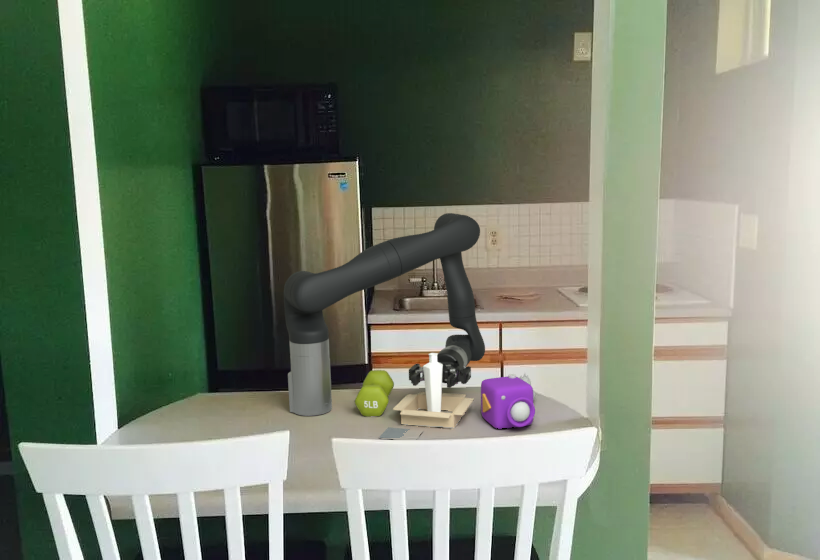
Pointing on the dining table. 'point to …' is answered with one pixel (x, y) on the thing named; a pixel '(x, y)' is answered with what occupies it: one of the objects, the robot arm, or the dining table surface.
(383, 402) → the dumbbell
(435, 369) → the white vase
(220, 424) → the dining table surface
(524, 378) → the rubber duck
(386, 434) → the mat
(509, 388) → the toy camera
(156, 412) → the dining table surface
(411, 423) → the carton
